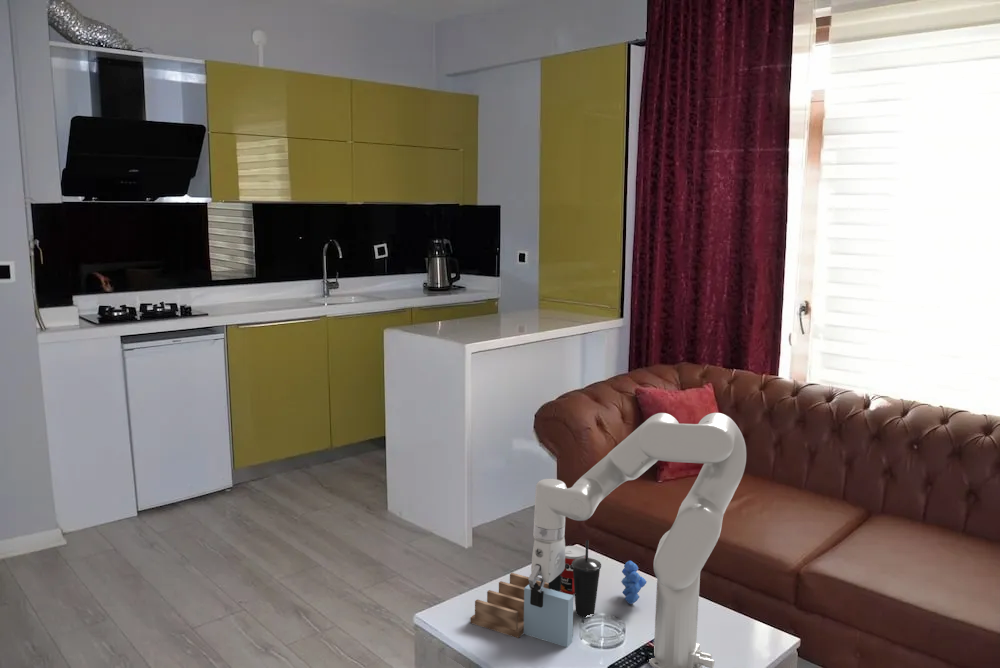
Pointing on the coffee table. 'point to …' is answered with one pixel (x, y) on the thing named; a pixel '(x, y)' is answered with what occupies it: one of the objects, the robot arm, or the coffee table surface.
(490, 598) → the dish rack
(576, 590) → the drinking cup
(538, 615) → the light blue square slab
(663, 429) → the robot arm
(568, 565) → the canned food
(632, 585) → the grapes
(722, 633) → the coffee table surface
